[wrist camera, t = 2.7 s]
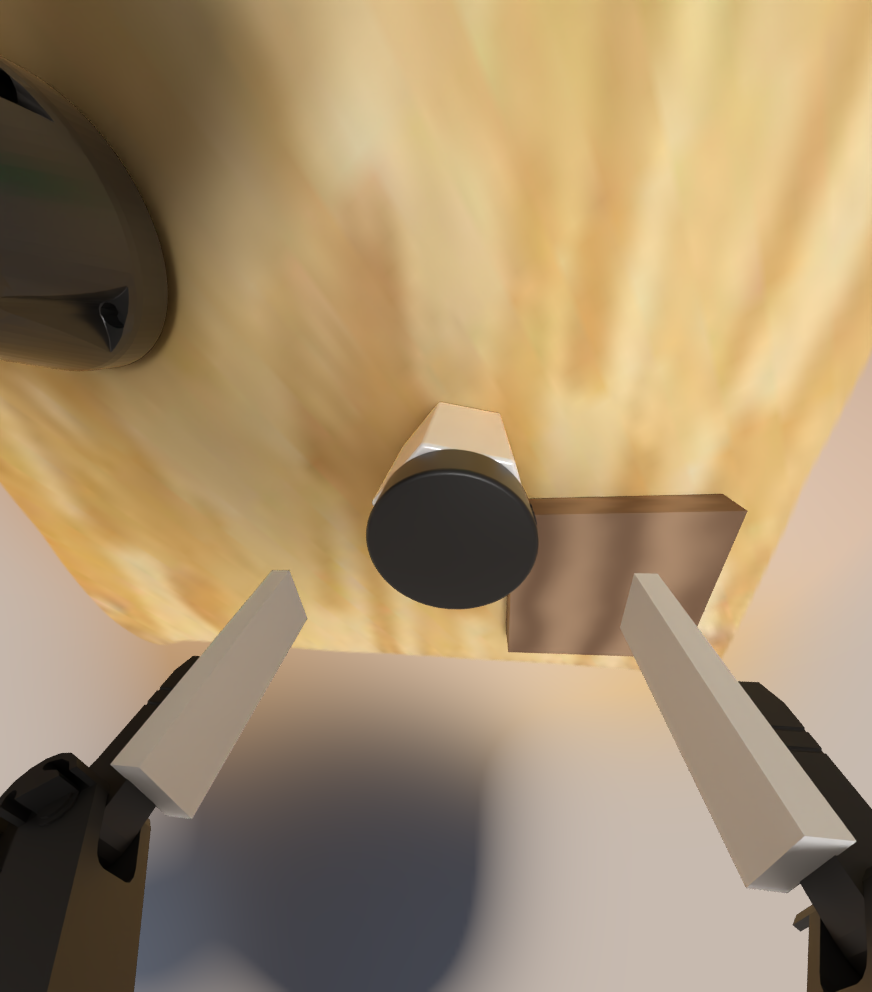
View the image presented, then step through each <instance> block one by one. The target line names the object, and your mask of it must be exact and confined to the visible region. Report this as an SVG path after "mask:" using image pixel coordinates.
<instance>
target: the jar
mask: <svg viewBox="0 0 872 992" xmlns="http://www.w3.org/2000/svg"><path fill="white" fill-rule="evenodd" d="M372 504H373V506H374V507H373V509H372V511H371V513H370V516H369V519H368V523H367V529H366V541H367V547H368V551H369V555H370V557H371V560H372V562H373V564H374V565H375V567H376V569H377V570H378V572H379V573H380V575H381V576H382V577H383V578H384V579H385V580H386V581H387V582H388V583H389V584H390V585H391V586H392V587H393V588H394V589H396V590H397V591H399V592H400V593H402V594H403V595H405V596H406V597H408V598H410V599H412V600H415V601H417V602H419V603H422V604H425V605H429V606H433V607H438V608H445V609H469V608H475V607H480V606H484V605H487V604H490V603H493V602H495V601H498V600H500V599H502V598H503V597H505V596H507V595H508V594H510V593H511V592H513V591H514V590H515V589H516V588H517V587H518V586H519V585H521V583H522V582H523V581H524V580H525V579H526V578H527V576H528V575H529V573H530V572H531V570H532V568H533V566H534V563H535V561H536V557H537V553H538V546H539V538H538V530H537V526H536V525H537V521H536V517H535V513H534V510H533V507H532V504H531V503H530V504H529V500H528V497H527V495H526V492H525V490H524V488H523V487H522V485H521V481H520V477H519V474H518V470H517V466H516V463H515V460H514V456H513V453H512V450H511V447H510V443H509V440H508V437H507V434H506V430H505V427H504V424H503V421H502V418H501V415H500V414H499V413H495V412H490V411H485V410H479V409H474V408H469V407H464V406H459V405H454V404H449V403H443V402H439V403H438V404H437V405H436V406H435V407H434V409H433V410H432V411H431V412H430V413H429V415H428V416H427V417H426V418H425V420H424V421H423V422H422V423H421V424H420V426H419V427H418V428H417V429H416V430H415V432H414V433H413V434H412V435H411V437H410V438H409V439H408V440H407V441H406V443H405V444H404V445H403V447H402V449H401V451H400V452H399V454H398V456H397V458H396V459H395V461H394V463H393V465H392V467H391V468H390V470H389V472H388V474H387V475H386V477H385V479H384V481H383V483H382V484H381V486H380V488H379V490H378V491H377V493H376V495H375V497H374V499H373V501H372Z"/></svg>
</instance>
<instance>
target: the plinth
mask: <svg viewBox="0 0 872 992" xmlns="http://www.w3.org/2000/svg"><path fill="white" fill-rule="evenodd" d="M528 500H529V504H530V503H531V504H532V507H533V510H534V513H535V517H536V521H537V525H536V526H537V530H538V538H539V546H538V553H537V557H536V561H535V563H534V566H533V568H532V570H531V572H530V573H529V575H528V576H527V578H526V579H525V580H524V581H523V582H522V583H521V585H519V586H518V587H517V588H516V589H515V590H514V591H513V592H511V593H510V594H508V595H507V618H506V634H507V643H508V652H524V653H553V654H582V655H610V656H634V655H633V653H632V651H631V649H630V647H629V645H628V643H627V641H626V639H625V637H624V635H623V633H622V631H621V629H620V626H621V622H622V618H623V614H624V610H625V607H626V603H627V599H628V595H629V591H630V588H631V584H632V580H633V576H634V573H651V574H658V575H659V576H660V577H661V579H662V580H663V581H664V583H665V584H666V585H667V587H668V588H669V590H670V591H671V592H672V594H673V595H674V596H675V598H676V599H677V600H678V602H679V603H680V604H681V606H682V607H683V608H684V610H685V611H686V612H687V614H688V615H689V616H690V618H691V619H692V620H693V622H694V623H695V624H696V626H698V623H699V621H700V619H701V616H702V614H703V612H704V610H705V607H706V605H707V603H708V600H709V598H710V596H711V593H712V591H713V589H714V587H715V584H716V582H717V580H718V577H719V575H720V573H721V571H722V568H723V566H724V564H725V561H726V559H727V557H728V554H729V552H730V550H731V548H732V545H733V543H734V541H735V538H736V536H737V534H738V532H739V529H740V527H741V525H742V522H743V520H744V518H745V515H746V513H747V510H745V509H744V508H742V507H741V506H739V505H738V504H736V503H735V502H734V501H732V500H731V499H729V498H728V497H726V496H725V495H723V494H710V495H669V496H628V497H587V498H546V499H528Z"/></svg>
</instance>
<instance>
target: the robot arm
mask: <svg viewBox="0 0 872 992" xmlns="http://www.w3.org/2000/svg"><path fill="white" fill-rule="evenodd" d="M167 302H168V286H167V275H166V268H165V263H164V258H163V254H162V250H161V246H160V243H159V239H158V236H157V233H156V230H155V227H154V225H153V222H152V220H151V217H150V215H149V212H148V210H147V208H146V206H145V204H144V201H143V199H142V197H141V195H140V193H139V192H138V190H137V188H136V186H135V184H134V182H133V181H132V179H131V177H130V176H129V174H128V172H127V171H126V169H125V168H124V166H123V164H122V163H121V161H120V160H119V158H118V157H117V156H116V154H115V153H114V151H113V150H112V149H111V147H110V146H109V145H108V143H107V142H106V141H105V139H104V138H103V137H102V136H101V134H100V133H99V132H98V131H97V130H96V129H95V127H94V126H93V125H92V124H91V123H90V122H89V121H88V120H87V119H86V118H85V117H84V115H83V114H82V113H81V112H80V111H79V110H78V109H76V108H75V107H74V106H73V105H72V104H71V103H70V102H69V101H68V100H67V99H66V98H64V97H63V96H62V95H61V94H60V93H59V92H57V91H56V90H55V89H53V88H52V87H51V86H50V85H48V84H47V83H45V82H44V81H43V80H41V79H40V78H38V77H37V76H35V75H33V74H32V73H30V72H28V71H27V70H25V69H23V68H21V67H20V66H18V65H16V64H14V63H13V62H11V61H9V60H7V59H6V58H4V57H2V56H0V360H4V361H11V362H17V363H23V364H29V365H35V366H41V367H47V368H53V369H60V370H70V371H89V370H98V369H106V368H114V367H120V366H125V365H128V364H131V363H133V362H135V361H137V360H139V359H140V358H142V357H143V356H144V355H145V354H147V353H148V352H149V351H150V349H151V348H152V347H153V346H154V344H155V343H156V341H157V340H158V338H159V336H160V333H161V331H162V328H163V325H164V322H165V318H166V312H167ZM306 620H307V616H306V613H305V611H304V608H303V605H302V603H301V600H300V597H299V595H298V592H297V589H296V587H295V584H294V581H293V579H292V576H291V573H290V571H289V570H272V571H271V572H270V573H269V575H268V576H267V577H266V578H265V579H264V581H263V582H262V583H261V584H260V585H259V587H258V588H257V589H256V590H255V591H254V593H253V594H252V595H251V596H250V597H249V599H248V600H247V601H246V602H245V603H244V605H243V606H242V607H241V608H240V609H239V611H238V612H237V613H236V614H235V615H234V616H233V618H232V619H231V620H230V621H229V622H228V624H227V625H226V626H225V627H224V628H223V630H222V631H221V632H220V633H219V634H218V636H217V637H216V638H215V639H214V640H213V642H212V643H211V644H210V645H209V647H208V648H207V649H206V650H205V651H204V652H203V654H202V655H201V656H192V657H191V658H190V659H189V660H187V661H186V662H185V663H183V664H182V665H181V666H180V667H178V668H177V669H176V670H175V671H174V672H173V673H172V674H171V675H170V676H169V678H168V679H167V680H166V681H165V682H164V683H163V684H162V686H161V687H160V690H159V691H156V692H155V694H154V695H153V696H152V697H151V698H150V699H149V700H148V703H147V705H144V706H143V707H142V708H141V710H140V711H139V712H138V713H137V714H136V716H134V718H133V719H132V720H131V721H130V722H129V723H128V724H127V726H126V727H125V728H124V729H123V730H122V731H121V732H120V734H119V735H118V736H117V737H116V738H115V739H114V740H113V742H112V743H111V744H110V745H109V746H108V747H107V748H106V750H105V751H104V752H103V753H102V754H101V755H100V756H99V758H98V759H97V760H96V761H95V762H94V763H93V764H92V765H91V766H90V767H88V766H86V765H85V764H84V763H83V762H81V760H79V759H78V758H77V757H76V756H75V755H73V754H72V753H61V754H58V755H55V756H52V757H50V758H47V759H45V760H44V761H42V762H41V763H39V764H37V765H36V766H34V767H32V768H31V769H29V770H28V771H27V772H26V773H25V774H23V775H22V776H21V777H20V778H18V779H17V780H16V781H15V782H14V783H13V784H12V785H11V786H10V787H9V788H8V789H7V790H6V791H5V792H4V793H3V795H2V796H1V797H0V992H134V986H135V976H136V966H137V956H138V947H139V936H140V928H141V918H142V908H143V898H144V889H145V879H146V869H147V860H148V849H149V841H150V831H151V826H150V820H149V819H148V817H149V816H150V814H151V813H152V811H153V810H154V808H155V807H157V808H159V809H160V810H161V811H162V812H163V813H164V814H165V815H166V816H172V817H180V818H188V819H192V818H193V816H194V814H195V813H196V811H197V809H198V808H199V806H200V804H201V802H202V801H203V799H204V797H205V795H206V793H207V792H208V790H209V788H210V786H211V785H212V783H213V781H214V780H215V778H216V776H217V775H218V773H219V771H220V769H221V767H222V766H223V764H224V762H225V761H226V759H227V757H228V755H229V754H230V752H231V750H232V748H233V747H234V745H235V743H236V741H237V740H238V738H239V736H240V735H241V733H242V731H243V729H244V728H245V726H246V724H247V722H248V720H249V719H250V717H251V715H252V714H253V712H254V710H255V708H256V707H257V705H258V703H259V701H260V700H261V698H262V696H263V695H264V693H265V691H266V689H267V688H268V686H269V684H270V682H271V681H272V679H273V677H274V675H275V674H276V672H277V670H278V668H279V667H280V665H281V663H282V662H283V660H284V658H285V656H286V655H287V653H288V651H289V649H290V648H291V646H292V644H293V642H294V641H295V639H296V637H297V635H298V634H299V632H300V630H301V628H302V627H303V625H304V623H305V622H306ZM620 629H621V631H622V633H623V635H624V637H625V639H626V641H627V643H628V645H629V647H630V649H631V651H632V653H633V655H634V658H635V660H636V662H637V664H638V666H639V668H640V670H641V672H642V674H643V676H644V678H645V680H646V682H647V684H648V686H649V688H650V690H651V692H652V695H653V697H654V699H655V701H656V703H657V705H658V707H659V709H660V711H661V713H662V715H663V717H664V719H665V722H666V724H667V726H668V728H669V730H670V732H671V734H672V736H673V738H674V740H675V742H676V744H677V746H678V748H679V750H680V753H681V755H682V757H683V759H684V761H685V763H686V764H687V767H688V769H689V771H690V773H691V775H692V777H693V779H694V781H695V783H696V786H697V788H698V790H699V792H700V794H701V796H702V798H703V800H704V802H705V804H706V806H707V808H708V810H709V812H710V814H711V817H712V819H713V821H714V823H715V825H716V827H717V829H718V831H719V833H720V835H721V837H722V839H723V841H724V843H725V845H726V848H727V850H728V852H729V854H730V856H731V858H732V860H733V862H734V864H735V866H736V868H737V870H738V872H739V874H740V876H741V878H742V881H743V883H744V885H745V887H746V888H750V889H758V890H766V891H774V892H782V893H788V892H790V891H791V890H792V889H794V888H795V887H796V886H798V885H799V884H801V885H802V887H803V889H804V890H805V892H806V894H807V896H808V897H809V899H810V901H811V902H812V905H811V906H810V907H808V908H806V909H805V910H803V911H802V912H800V913H799V914H797V915H796V918H795V920H794V923H793V926H795V927H796V928H797V929H798V930H800V931H802V930H804V929H805V928H807V927H809V946H808V975H807V992H872V809H871V808H870V807H869V805H868V804H867V803H866V802H865V800H864V799H863V798H862V797H861V795H860V794H859V793H858V792H857V791H856V789H855V788H854V787H853V786H852V785H851V783H850V782H849V781H848V780H847V779H846V777H845V776H844V775H843V774H842V772H841V771H840V770H839V769H838V768H837V767H836V765H835V764H834V763H833V762H832V761H831V759H830V758H829V757H828V756H827V754H824V753H823V752H822V750H821V747H820V746H819V745H818V743H817V742H816V741H815V740H814V739H813V737H812V736H811V735H810V734H809V733H808V732H806V731H805V730H804V727H803V725H802V724H801V723H800V722H799V720H798V719H797V718H796V717H795V715H794V714H793V713H792V712H791V711H790V709H789V708H788V707H787V706H786V705H785V703H784V702H782V701H781V700H780V699H778V698H777V697H776V696H775V695H774V694H772V693H771V692H770V691H768V689H766V688H765V687H764V686H763V685H761V684H760V683H759V682H740V681H737V680H736V678H735V677H734V676H733V674H732V673H731V672H730V670H729V669H728V668H727V666H726V665H725V663H724V662H723V661H722V659H721V658H720V657H719V655H718V654H717V653H716V651H715V650H714V649H713V647H712V646H711V645H710V643H709V642H708V641H707V639H706V638H705V637H704V635H703V634H702V633H701V631H700V630H699V629H698V627H697V626H696V624H695V623H694V622H693V620H692V619H691V618H690V616H689V615H688V614H687V612H686V611H685V610H684V608H683V607H682V606H681V604H680V603H679V602H678V600H677V599H676V598H675V596H674V595H673V594H672V592H671V591H670V590H669V588H668V587H667V585H666V584H665V583H664V581H663V580H662V579H661V577H660V576H659V575H658V574H651V573H634V576H633V580H632V584H631V588H630V591H629V595H628V599H627V603H626V607H625V610H624V614H623V618H622V622H621V626H620Z"/></svg>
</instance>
